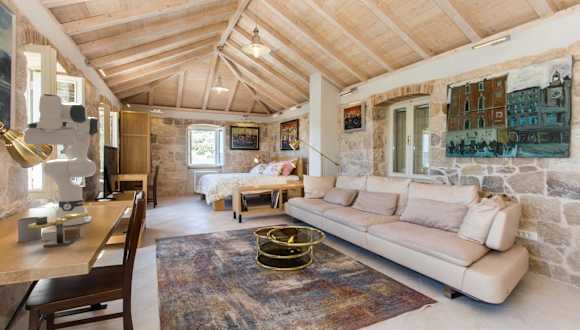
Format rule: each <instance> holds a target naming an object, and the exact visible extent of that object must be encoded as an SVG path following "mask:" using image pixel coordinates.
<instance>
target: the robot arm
mask: <svg viewBox="0 0 580 330" xmlns="http://www.w3.org/2000/svg"><path fill="white" fill-rule="evenodd" d="M39 97H40V98H39V104H38V106H39V107H38V110H39V113H40V116H39V121H35V122H31V123H27V124H26V128H27V129H26V130H24V136H23V137H24V139H23V141H24V143H25V144H27V145H33V148H34V149H35V150H36V152H37V154H43V150H42V149H40V146H41V145H55V146H56V145H57V146H62V147H63V148H62V150H60V154H61V155H65V156H66V159H63V158H62V159H51V160H47V161H45V163H44V165H43V168H42V169H43V172H44V174H45V176H46V177H49V178H50V179H51V180H52V181H54V183H55V184H56V186H57V188H58V195H59V200H58V203H57V204H58V208H57V209H56V210H55V216H54V219H55V220H54V222H56V220H57V219H63V220H64V219H68V218H65V215H67V214H71V213H81V212H85V213H88V208H86V207H85V198H83V187H82V185H81V184H78V183H76V182H74V181H73V180H72V178H88V177H92V176H94V175H95V173H97V164H96V163H95V162H94V161H93V160H91V159H89V157H88V152H89V148H90V141H91V139H90V136H91V137H93V136H95V135H96V134H98V132H100V130H101V123H100V120H99V118H97V117H94V116H91V117H89V109H88V108H86V106H84V105H83V104H81V103H80V104H79V103H75V102H68V103H63V101H62V97H61V95H59V94H56V93H54V94H53V93H42V94H41V95H40V96H39ZM92 218H93V217H92V216H90V215H88V216H85V217H79V218H77V219H73V220H70V221H66V222H64V223H63V227H64V226H67V227H68V226H75V225H81V224H87V223H90V222H91V221H92ZM55 225H56V224H55ZM55 225H54V226H55Z"/></svg>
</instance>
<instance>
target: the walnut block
mask: <svg viewBox="0 0 580 330" xmlns="http://www.w3.org/2000/svg"><path fill="white" fill-rule="evenodd" d="M78 237H79V238H80V237H81V226H72V227H70V226H69V227H67V228H65V229H63V239H64V238H75V240H77V239H79V238H78Z"/></svg>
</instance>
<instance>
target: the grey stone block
mask: <svg viewBox="0 0 580 330" xmlns="http://www.w3.org/2000/svg"><path fill="white" fill-rule="evenodd" d="M41 239H42V240H41V241H42V242H43V241H51V240H52V239H57V237H56V228H55V229H47V230H43V231H42V232H41Z"/></svg>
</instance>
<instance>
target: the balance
mask: <svg viewBox="0 0 580 330" xmlns="http://www.w3.org/2000/svg"><path fill="white" fill-rule="evenodd" d="M85 216H90V215H89V212H87V213H85V212H81V213H71V214H67V215H65V218H68V219H64V220H63V219H57V220H56V222H55V221H48V216H36V217H37V218H36V223H33V224H30V225H28V228H41V229H43V228H48V227H51V226H52V227H53V226H55V224H56V227H55V229H56V239H52V240H48V242H46V243H44V244H43V246H42V247H43V248H45V249H46V248H55V247H66V246H67V247H68V246H69V245H71V244H72V243H74V242H75V241H76V239H75V238H64V226H63V223H64V222H66V221H70V220H73V219H77V218H79V217H85Z"/></svg>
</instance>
